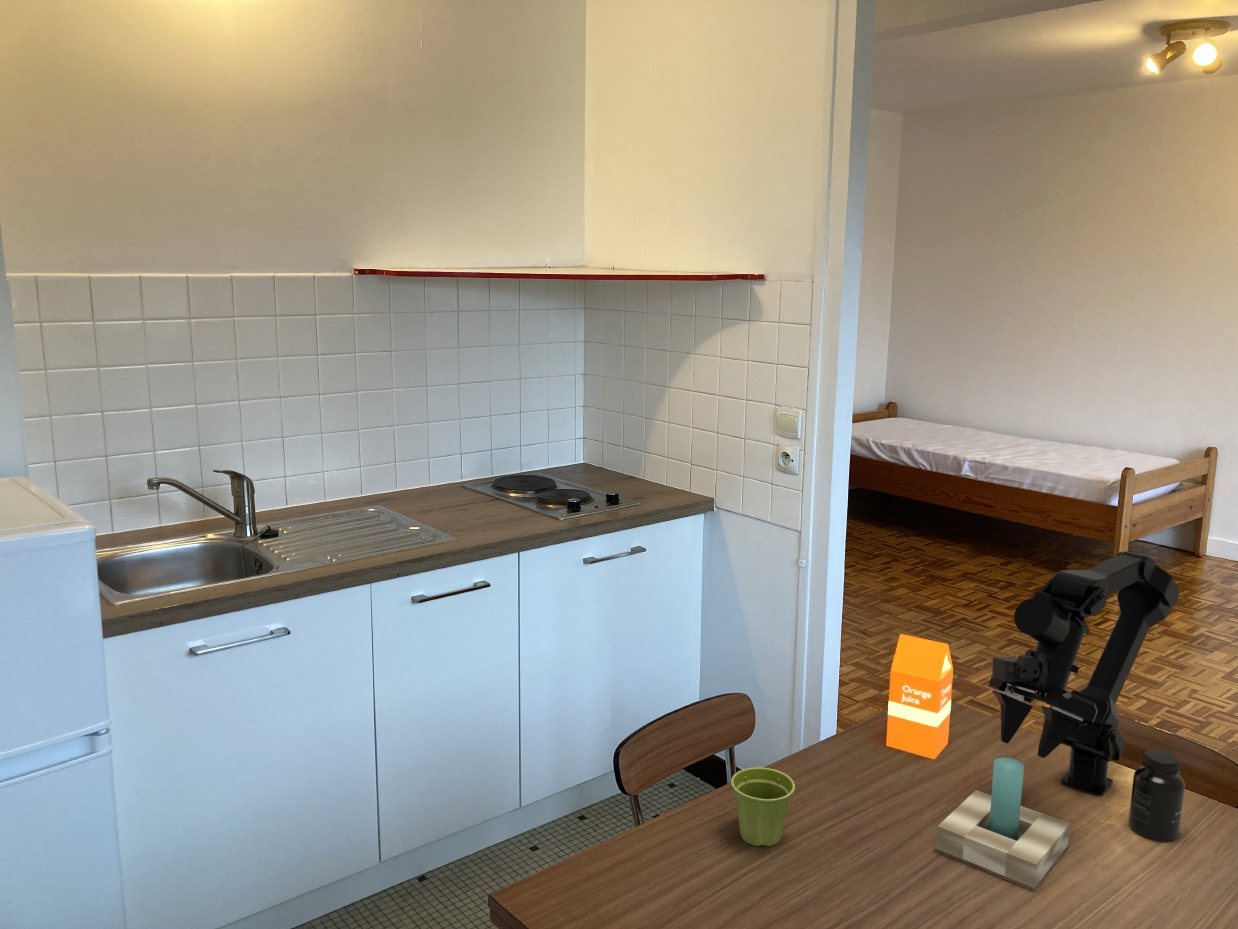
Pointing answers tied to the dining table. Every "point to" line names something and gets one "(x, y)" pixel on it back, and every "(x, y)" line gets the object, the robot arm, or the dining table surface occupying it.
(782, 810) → the plant pot
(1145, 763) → the supplement bottle
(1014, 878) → the cream square wooden frame
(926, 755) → the orange juice
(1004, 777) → the teal cylinder
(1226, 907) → the dining table surface
